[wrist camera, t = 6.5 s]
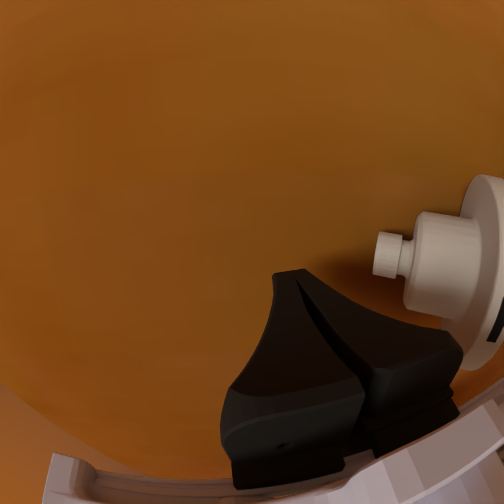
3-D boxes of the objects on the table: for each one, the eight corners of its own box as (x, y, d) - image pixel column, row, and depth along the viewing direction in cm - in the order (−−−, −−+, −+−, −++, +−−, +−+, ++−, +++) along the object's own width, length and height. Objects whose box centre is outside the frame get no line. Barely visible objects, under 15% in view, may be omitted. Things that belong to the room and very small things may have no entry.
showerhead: (463, 309, 15) (480, 414, 7) (375, 291, 19) (338, 387, 11) (490, 176, 12) (564, 197, 4) (390, 158, 15) (374, 153, 7)
